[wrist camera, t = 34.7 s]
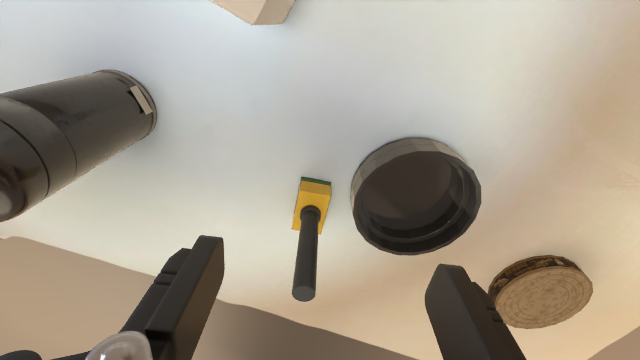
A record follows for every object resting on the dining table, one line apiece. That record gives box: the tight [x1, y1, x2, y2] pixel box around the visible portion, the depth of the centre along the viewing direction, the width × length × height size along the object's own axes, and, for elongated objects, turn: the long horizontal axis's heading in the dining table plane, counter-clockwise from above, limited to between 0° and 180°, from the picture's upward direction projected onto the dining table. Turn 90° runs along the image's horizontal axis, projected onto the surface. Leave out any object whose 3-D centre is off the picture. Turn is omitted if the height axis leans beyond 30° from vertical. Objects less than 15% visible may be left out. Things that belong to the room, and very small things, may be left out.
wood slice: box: [488, 255, 593, 329], centre depth 52 cm, size 16×16×3 cm
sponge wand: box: [292, 177, 331, 302], centre depth 37 cm, size 7×4×18 cm, turn 168°
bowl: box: [351, 138, 481, 255], centre depth 42 cm, size 17×17×5 cm
